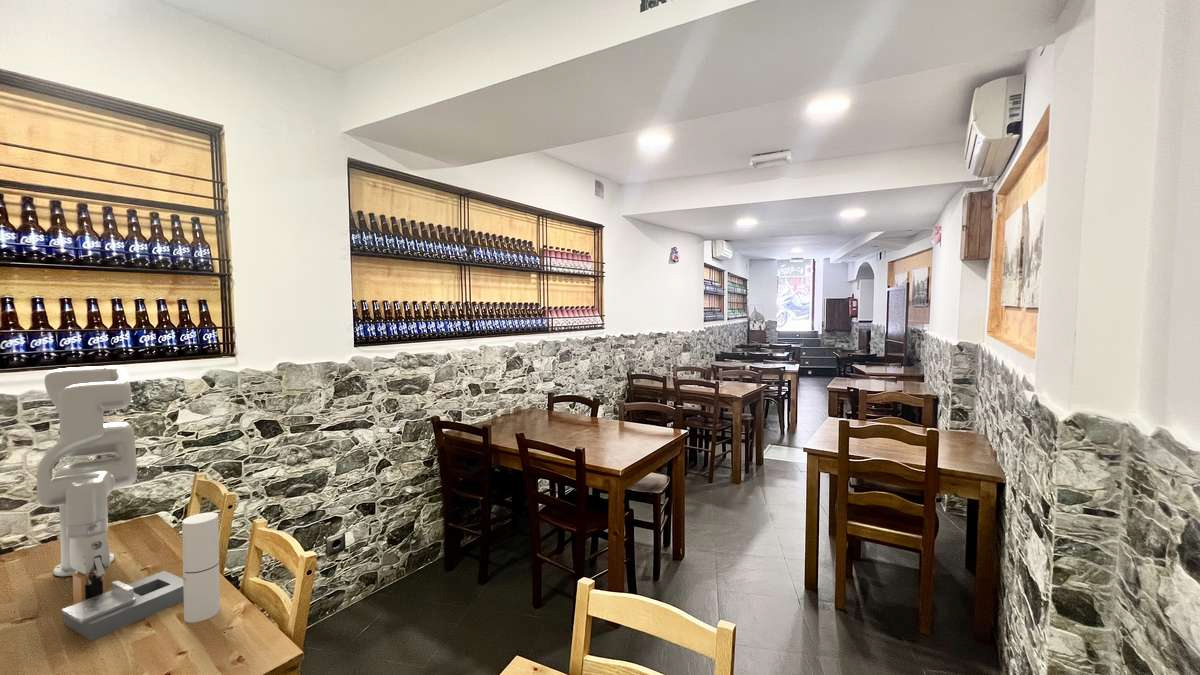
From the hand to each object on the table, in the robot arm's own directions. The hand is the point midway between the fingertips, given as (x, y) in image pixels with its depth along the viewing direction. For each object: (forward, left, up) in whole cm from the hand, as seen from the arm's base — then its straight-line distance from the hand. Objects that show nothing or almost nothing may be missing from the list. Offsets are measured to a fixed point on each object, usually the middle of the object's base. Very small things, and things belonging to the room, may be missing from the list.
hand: (89, 594), depth 129 cm
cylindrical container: (+32, +10, -2) cm, 34 cm away
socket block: (+14, +3, -2) cm, 14 cm away
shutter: (+14, -3, +2) cm, 14 cm away
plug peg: (0, 0, -2) cm, 2 cm away
